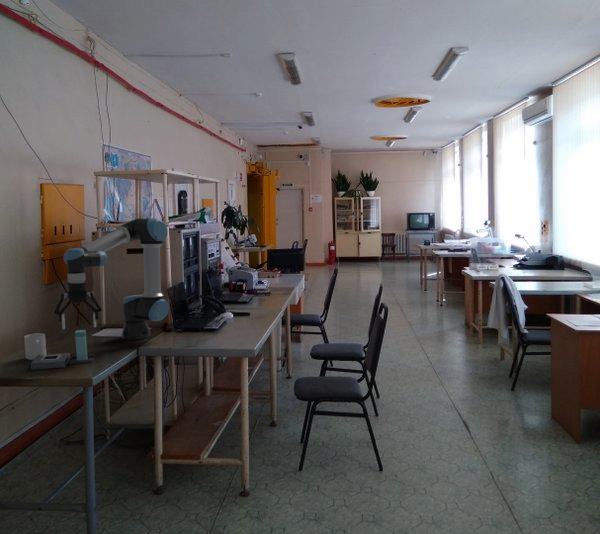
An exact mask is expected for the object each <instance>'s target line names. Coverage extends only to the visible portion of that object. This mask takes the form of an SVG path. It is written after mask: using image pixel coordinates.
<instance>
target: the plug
mask: <svg viewBox="0 0 600 534" xmlns="http://www.w3.org/2000/svg"><path fill="white" fill-rule="evenodd" d="M74 338H75V339H74V340H75V351H76V352H75V353H76V356H77V360H87V359H88V357H87V355H88V347H87V346H88V345H87V331H86V329H78V330H75V332H74Z"/></svg>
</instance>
